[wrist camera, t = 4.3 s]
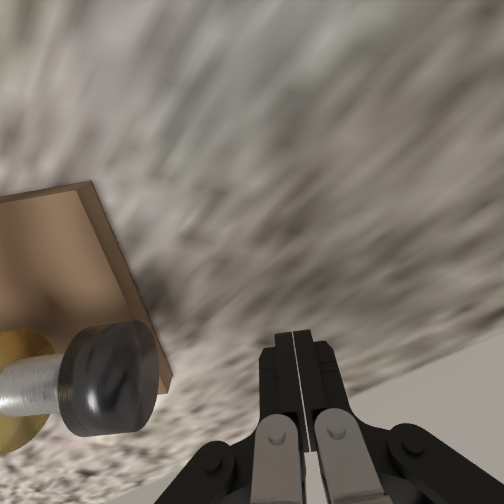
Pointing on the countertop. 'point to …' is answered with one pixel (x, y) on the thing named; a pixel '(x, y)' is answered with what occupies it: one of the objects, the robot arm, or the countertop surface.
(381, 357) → the countertop surface
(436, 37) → the countertop surface
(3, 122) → the countertop surface
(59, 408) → the shaft
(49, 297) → the bearing block
